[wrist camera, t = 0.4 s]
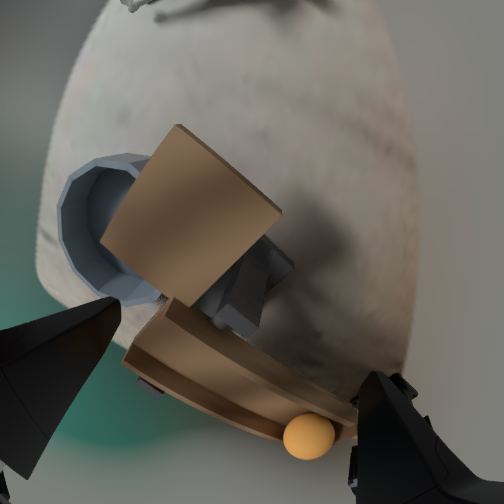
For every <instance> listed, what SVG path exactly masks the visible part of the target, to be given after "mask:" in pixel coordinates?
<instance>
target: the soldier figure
mask: <svg viewBox="0 0 504 504" xmlns="http://www.w3.org/2000/svg"><path fill="white" fill-rule="evenodd" d="M120 1H121V3H122V4H125V5H127V6H128V10H129V11H130V12H131V13H134V12H135V11H137V10H138V9H139V7H140V6H142V5H144V4H147V3H149V2H151V1H152V0H120Z"/></svg>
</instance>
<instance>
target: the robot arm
mask: <svg viewBox="0 0 504 504" xmlns="http://www.w3.org/2000/svg"><path fill="white" fill-rule="evenodd" d="M120 323H121V302H120V300H119V299H117V298H114V297H112V296H108V297H105V298H101V299H98V300H95V301H92V302H89V303H86V304H83V305H80V306H77V307H74V308H70V309H67V310H64V311H61V312H58V313H55V314H52V315H49V316H46V317H43V318H40V319H37V320H33V321H30V322H28V323H24V324H21V325H18V326H14V327H11V328H8V329H4V330H0V504H11V503H10V502H9V501H8V500H9V499H10V495H9V492H8V488H7V485H6V481H5V477H4V473H3V468H4V466H5V465H7V466H9V467H10V468H11V469H12V470H14V471H15V472H16V473H18V474H19V475H21V476H22V477H23V478H25V479H26V480H28V479H29V477H30V476H31V474H32V471H33V470H34V468H35V466H36V464H37V462H38V460H39V458H40V457H41V455H42V453H43V451H44V449H45V448H46V446H47V444H48V442H49V440H50V438H51V437H52V435H53V433H54V432H55V430H56V428H57V426H58V425H59V423H60V421H61V420H62V418H63V416H64V415H65V413H66V411H67V410H68V408H69V407H70V405H71V403H72V402H73V400H74V399H75V397H76V396H77V394H78V392H79V391H80V389H81V388H82V386H83V385H84V383H85V382H86V380H87V379H88V377H89V375H90V374H91V372H92V371H93V370H94V368H95V367H96V365H97V364H98V362H99V361H100V359H101V358H102V356H103V354H104V353H105V351H106V349H107V347H108V345H109V343H110V341H111V339H112V338H113V336H114V334H115V332H116V330H117V328H118V327H119V325H120ZM417 395H418V393H417V391H416V390H415V389H414V388H413V387H412V386H411V385H410V384H409V383H408V382H407V381H405V379H403V378H402V377H401V376H400V375H399V374H394V375H392V376H391V377H389V378H388V377H387V376H386V375H385V373H384V372H382V371H375V370H374V371H372V372H370V374H369V375H368V376H367V378H366V379H365V381H364V382H363V383H362V385H361V387H360V391H359V396H357V397H356V398H354V399H352V400H351V401H350V402H351V404H352V406H353V407H355V408H357V409H358V424H357V435H358V446H357V445H356V446H353V447H352V453H351V457H350V467H349V477H348V485H349V486H350V487H351V489H352V492H353V493H354V495H356V504H504V482H496V481H487V480H483V479H481V478H479V477H477V476H476V475H475V474H473V473H472V471H470V469H469V468H468V467H466V465H465V464H463V462H462V461H461V460H460V459H459V458H458V457H457V456H456V455H455V454H454V453H453V452H452V451H451V450H450V449H449V448H448V447H447V446H446V445H445V443H444V442H443V441H442V440H441V439H440V437H439V436H438V435H437V434H436V433H435V432H434V430H433V428H432V425H431V422H430V419H429V416H428V415H427V416H425V417H424V418H423V417H421V415H420V414H419V413H418V412H417V410H416V409H415V408H414V407H413V404H412V401H411V400H412V399H414V398H415V397H417Z"/></svg>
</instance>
